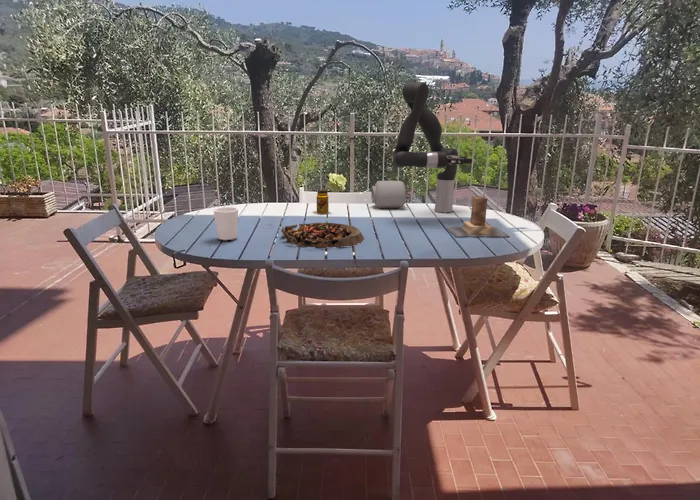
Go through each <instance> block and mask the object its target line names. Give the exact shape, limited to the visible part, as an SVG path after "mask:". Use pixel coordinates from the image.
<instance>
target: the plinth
mask: <svg viewBox="0 0 700 500" xmlns="http://www.w3.org/2000/svg"><path fill="white" fill-rule="evenodd" d="M470 221H471V220H470ZM470 221H468V220H467V221H462V226H446V227H445V229H446V230H447V231H448V232H449V233H450V234H451V233H452V234H453V235H454V236H455V237H454V236H453V237H454V238H456V237H466V238H467V237H487V238H510V237H511V236H510V235H509V234H507V233H506V232H504V231H503V230H502V229H500V228H498V227H497V226H492V225H491V224H489V223H488V222H486V221H485V226H474V225H472V224H471V223H470ZM452 234H451V235H452ZM467 239H468V238H467Z"/></svg>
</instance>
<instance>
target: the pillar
mask: <svg viewBox="0 0 700 500" xmlns="http://www.w3.org/2000/svg"><path fill="white" fill-rule="evenodd" d="M487 207H488V197H485V196H472V201H471V211H470V212H471V213H470V223H471V224H472V225H474V226H485V222H486V218H487V217H486V216H487V210H488V208H487Z"/></svg>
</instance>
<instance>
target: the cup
mask: <svg viewBox="0 0 700 500" xmlns="http://www.w3.org/2000/svg"><path fill="white" fill-rule="evenodd" d="M213 217H214V222H215V227H216V233H217V239H218V241H223V242H228V241H232V242H233V241H235V240H237V238H238V225H239V224H238V221H239V209H238V208H237V207H233V206H221V207H217V208H214V209H213Z"/></svg>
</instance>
